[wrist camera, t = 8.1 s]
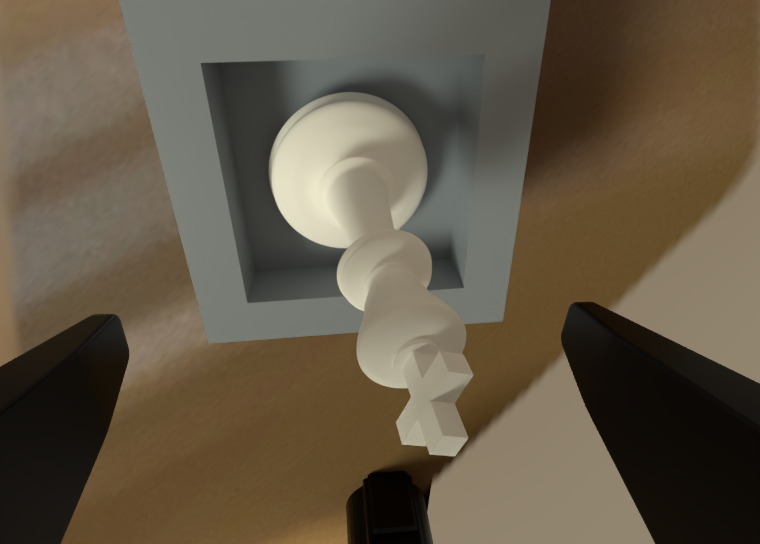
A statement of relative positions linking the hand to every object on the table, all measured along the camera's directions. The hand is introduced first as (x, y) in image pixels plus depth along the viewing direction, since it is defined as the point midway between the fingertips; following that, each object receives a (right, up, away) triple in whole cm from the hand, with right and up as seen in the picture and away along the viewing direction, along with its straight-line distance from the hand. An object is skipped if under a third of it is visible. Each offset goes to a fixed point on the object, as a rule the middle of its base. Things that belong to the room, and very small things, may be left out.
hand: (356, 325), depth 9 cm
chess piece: (0, +4, +5) cm, 7 cm away
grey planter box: (-1, +7, +11) cm, 13 cm away
